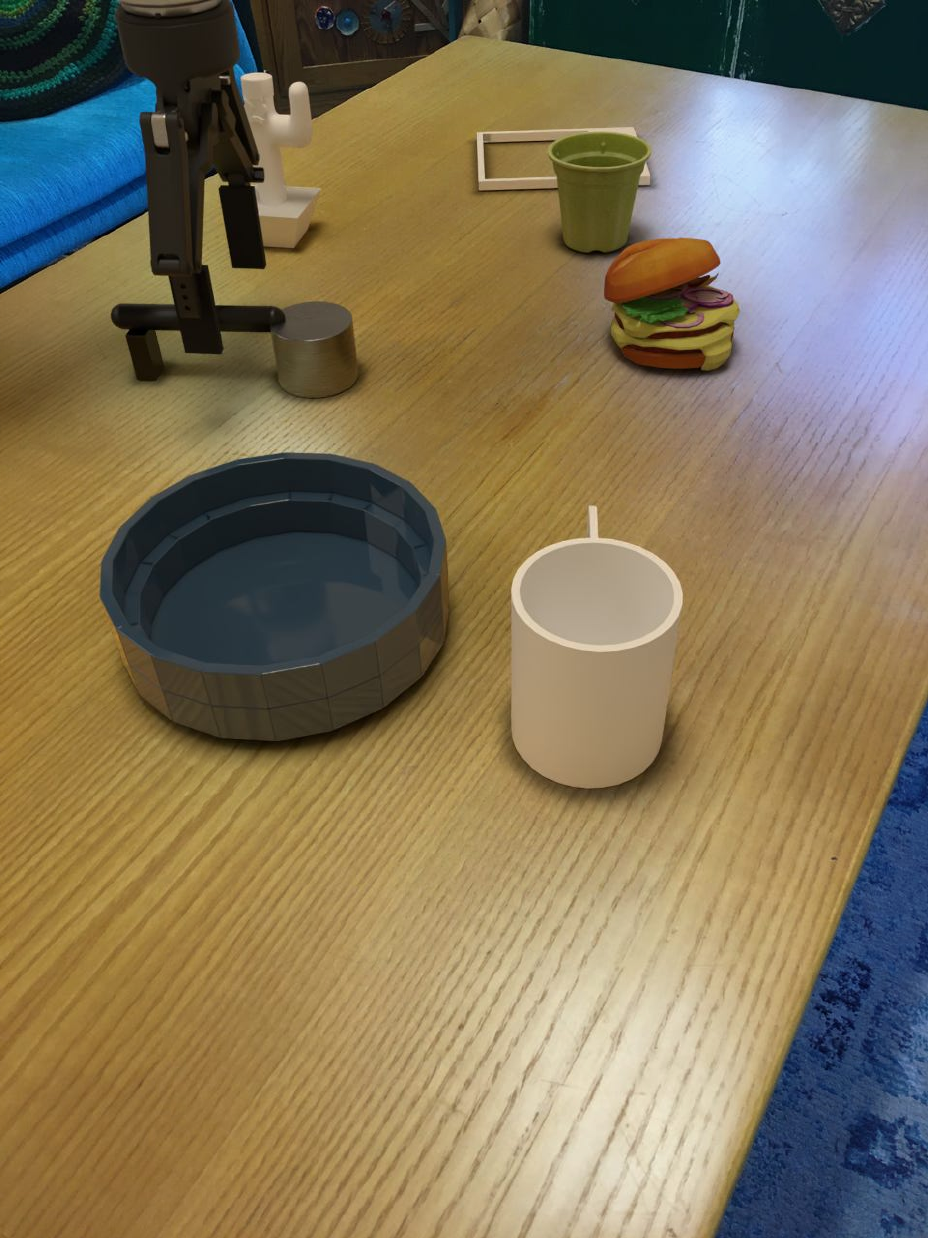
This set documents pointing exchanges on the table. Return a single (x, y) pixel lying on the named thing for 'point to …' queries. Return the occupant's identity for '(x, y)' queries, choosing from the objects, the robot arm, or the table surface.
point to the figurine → (279, 159)
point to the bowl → (278, 594)
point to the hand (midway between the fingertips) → (228, 306)
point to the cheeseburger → (670, 305)
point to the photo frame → (535, 136)
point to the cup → (592, 658)
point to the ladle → (301, 333)
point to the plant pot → (597, 187)
